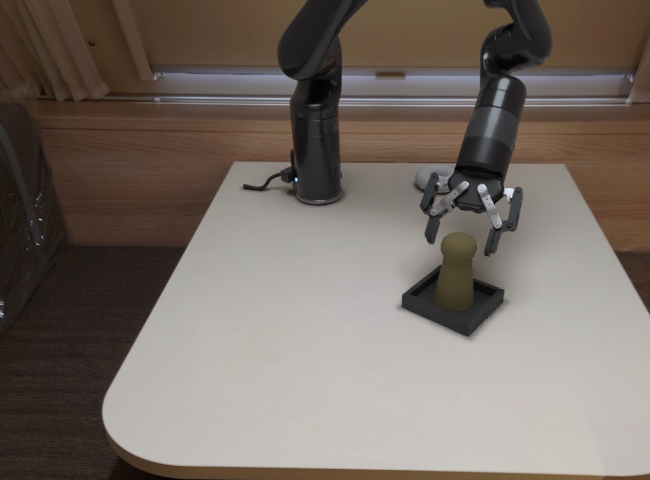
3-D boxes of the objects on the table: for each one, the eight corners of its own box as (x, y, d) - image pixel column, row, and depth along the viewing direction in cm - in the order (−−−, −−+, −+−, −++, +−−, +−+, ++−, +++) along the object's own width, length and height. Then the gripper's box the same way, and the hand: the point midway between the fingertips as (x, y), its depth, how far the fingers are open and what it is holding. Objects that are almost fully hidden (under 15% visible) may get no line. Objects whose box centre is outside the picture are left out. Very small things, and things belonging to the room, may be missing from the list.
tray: (401, 306, 88) (401, 294, 86) (439, 276, 94) (440, 264, 93) (468, 336, 82) (469, 323, 80) (503, 301, 88) (505, 289, 87)
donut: (417, 175, 128) (412, 193, 120) (417, 160, 126) (413, 178, 118) (462, 178, 127) (460, 197, 118) (463, 163, 125) (462, 181, 117)
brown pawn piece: (472, 313, 85) (480, 249, 78) (431, 308, 86) (436, 244, 79) (474, 290, 90) (482, 228, 83) (435, 286, 91) (440, 224, 84)
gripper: (437, 127, 84) (406, 231, 82) (535, 141, 79) (504, 252, 77) (446, 150, 91) (417, 246, 89) (536, 164, 86) (508, 266, 84)
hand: (458, 249), depth 83 cm, fingers open, 8 cm apart
